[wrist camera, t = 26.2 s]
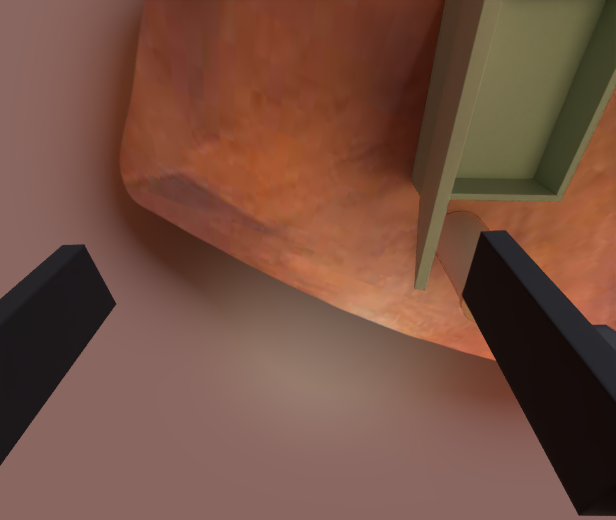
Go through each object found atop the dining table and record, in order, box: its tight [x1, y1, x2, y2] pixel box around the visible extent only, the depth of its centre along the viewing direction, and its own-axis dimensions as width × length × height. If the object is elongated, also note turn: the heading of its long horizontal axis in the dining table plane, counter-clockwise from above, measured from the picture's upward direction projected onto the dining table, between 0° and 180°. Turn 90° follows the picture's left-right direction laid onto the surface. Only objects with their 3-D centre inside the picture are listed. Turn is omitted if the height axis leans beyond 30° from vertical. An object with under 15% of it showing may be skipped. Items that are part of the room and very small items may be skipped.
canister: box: [435, 211, 490, 323], centre depth 40 cm, size 8×8×16 cm
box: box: [411, 0, 616, 202], centre depth 34 cm, size 16×20×6 cm
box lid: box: [414, 0, 503, 290], centre depth 25 cm, size 16×20×1 cm
